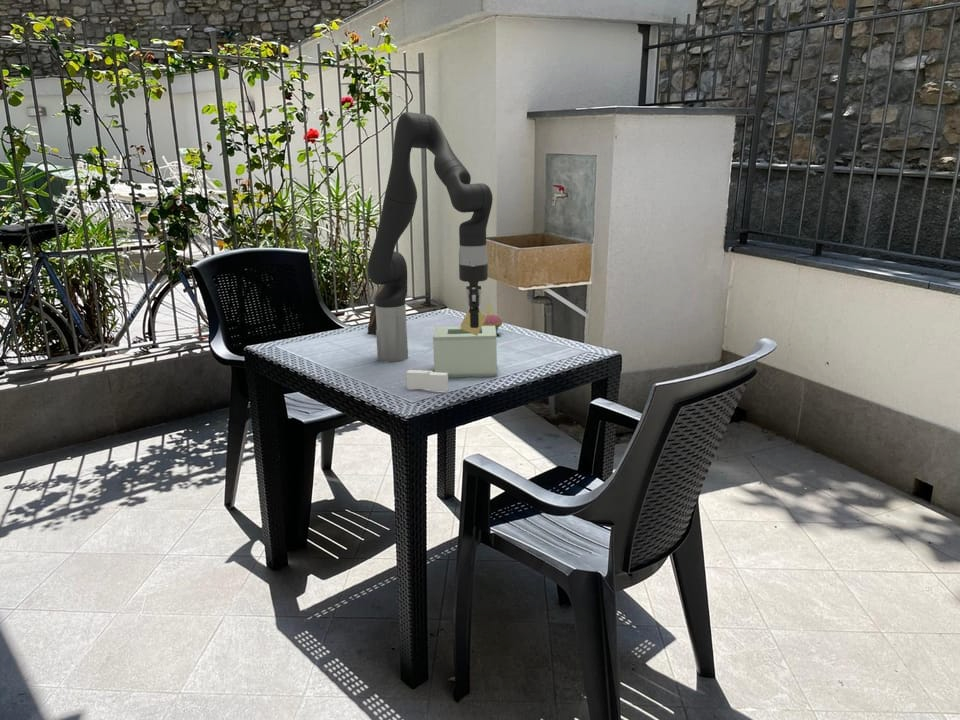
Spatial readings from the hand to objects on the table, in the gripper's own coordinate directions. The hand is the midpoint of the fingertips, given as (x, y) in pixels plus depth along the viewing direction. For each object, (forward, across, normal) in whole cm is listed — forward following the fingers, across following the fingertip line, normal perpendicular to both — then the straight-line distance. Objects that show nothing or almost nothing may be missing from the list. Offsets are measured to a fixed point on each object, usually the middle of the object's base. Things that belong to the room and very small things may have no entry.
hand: (474, 325), depth 199 cm
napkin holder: (+18, +1, -13) cm, 23 cm away
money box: (+18, -16, -3) cm, 24 cm away
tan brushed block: (+1, 0, -2) cm, 2 cm away
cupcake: (+18, -57, +5) cm, 60 cm away
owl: (+18, -64, -32) cm, 74 cm away
